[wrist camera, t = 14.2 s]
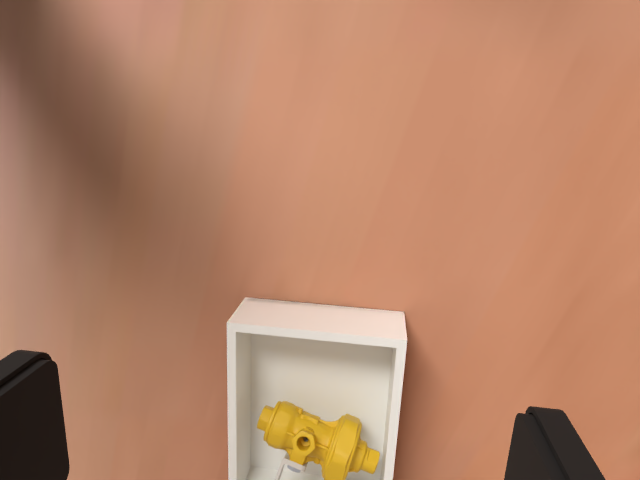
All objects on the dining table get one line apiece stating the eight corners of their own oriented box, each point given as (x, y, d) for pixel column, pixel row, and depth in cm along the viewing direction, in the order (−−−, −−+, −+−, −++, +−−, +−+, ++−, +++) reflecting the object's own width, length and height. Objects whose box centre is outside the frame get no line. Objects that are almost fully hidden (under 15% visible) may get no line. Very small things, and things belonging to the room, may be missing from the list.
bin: (245, 466, 45) (228, 509, 40) (245, 297, 40) (226, 322, 35) (386, 485, 43) (387, 532, 38) (404, 311, 38) (407, 340, 34)
